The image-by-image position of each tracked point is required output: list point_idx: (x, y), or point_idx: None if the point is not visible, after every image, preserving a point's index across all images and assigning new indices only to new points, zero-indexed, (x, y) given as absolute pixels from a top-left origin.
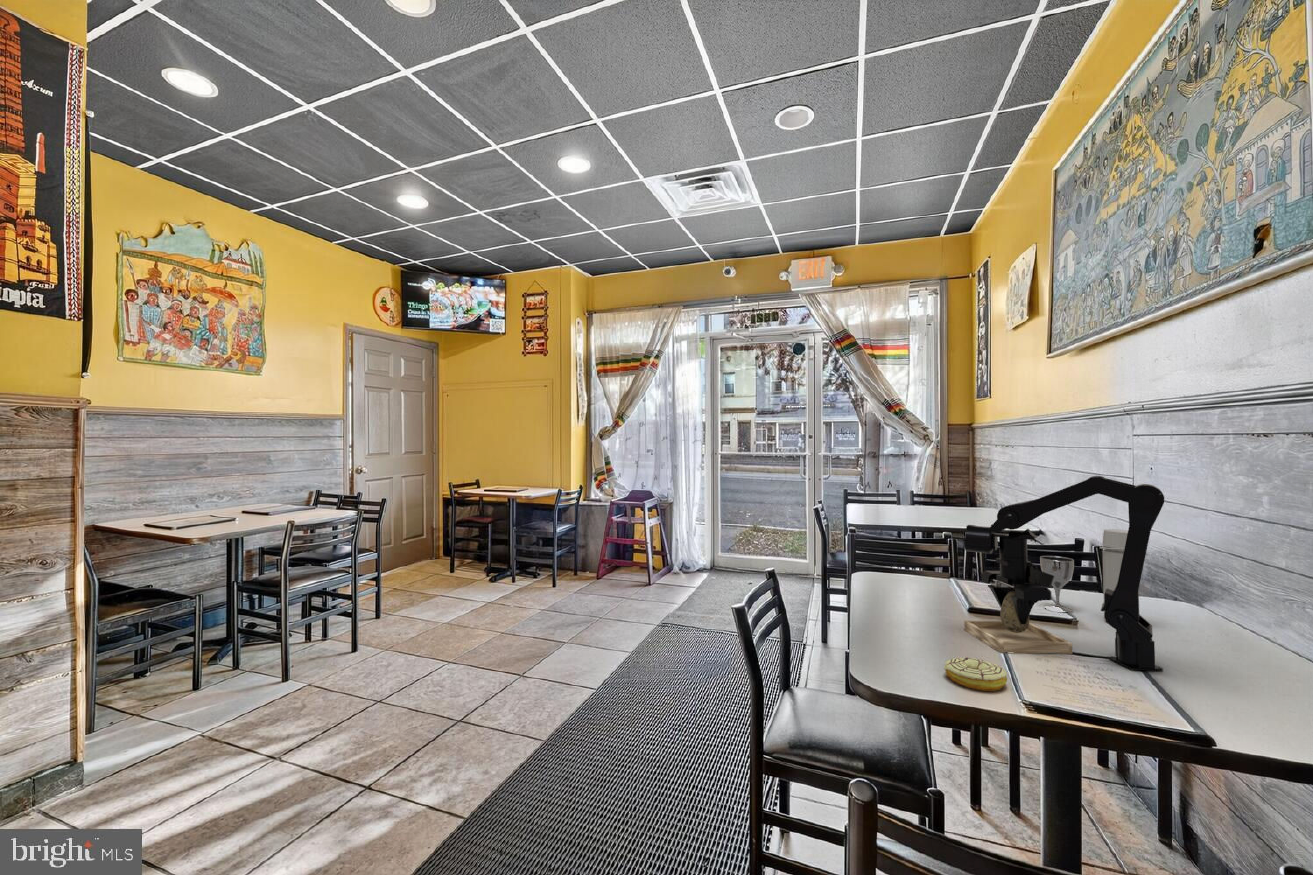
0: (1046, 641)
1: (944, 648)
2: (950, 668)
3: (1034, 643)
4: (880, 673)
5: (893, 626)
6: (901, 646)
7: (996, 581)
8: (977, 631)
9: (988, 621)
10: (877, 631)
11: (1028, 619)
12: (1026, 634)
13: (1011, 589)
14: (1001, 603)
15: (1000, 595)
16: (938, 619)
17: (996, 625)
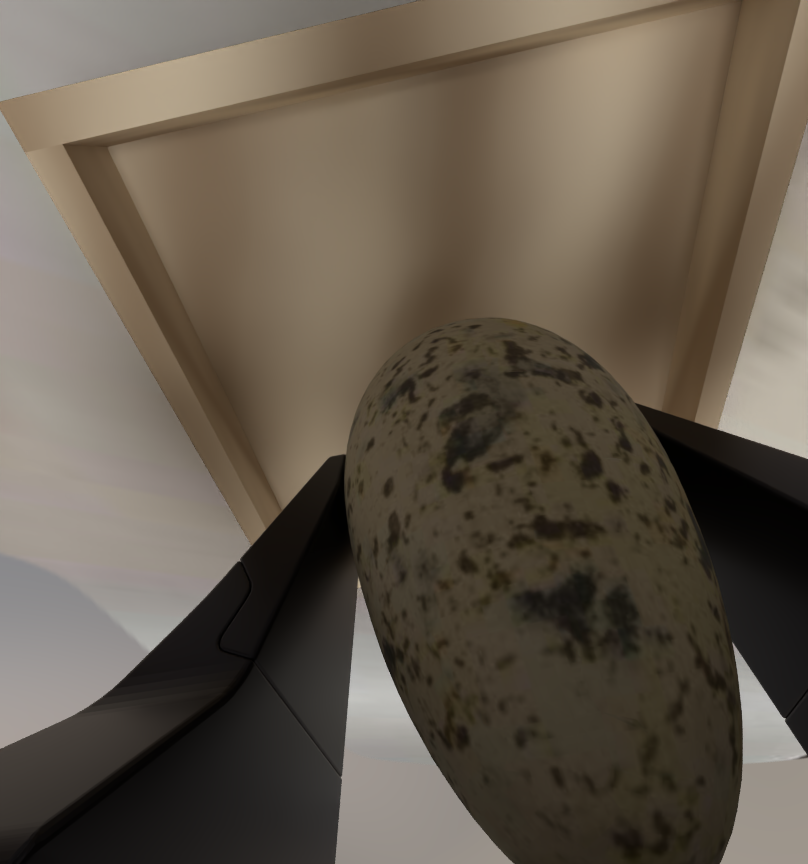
0: (508, 117)
1: None
2: None
3: (737, 349)
4: (749, 744)
5: (347, 722)
6: None
7: None
8: None
9: (232, 489)
10: (420, 746)
11: (608, 372)
12: (324, 234)
13: (174, 845)
14: (352, 628)
15: (323, 754)
16: (142, 614)
17: (229, 428)
